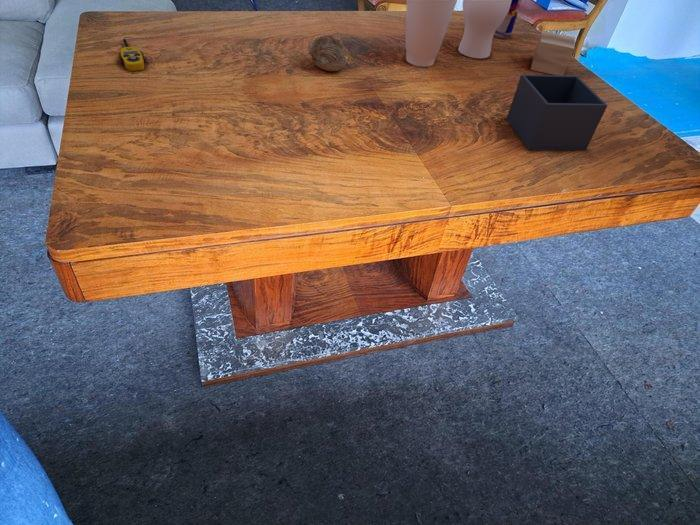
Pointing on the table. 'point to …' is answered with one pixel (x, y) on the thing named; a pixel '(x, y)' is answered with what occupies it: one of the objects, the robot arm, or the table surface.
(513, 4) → the beverage can
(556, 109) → the box
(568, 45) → the block
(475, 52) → the cup
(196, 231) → the table surface
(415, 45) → the cup
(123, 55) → the yellow walkie talkie
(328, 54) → the seashell
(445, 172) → the table surface
